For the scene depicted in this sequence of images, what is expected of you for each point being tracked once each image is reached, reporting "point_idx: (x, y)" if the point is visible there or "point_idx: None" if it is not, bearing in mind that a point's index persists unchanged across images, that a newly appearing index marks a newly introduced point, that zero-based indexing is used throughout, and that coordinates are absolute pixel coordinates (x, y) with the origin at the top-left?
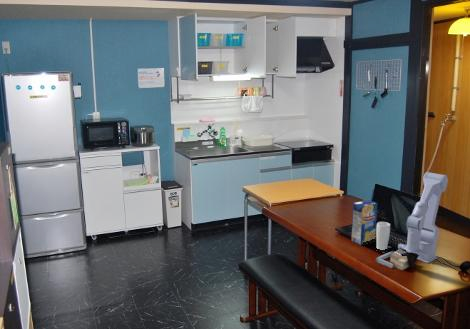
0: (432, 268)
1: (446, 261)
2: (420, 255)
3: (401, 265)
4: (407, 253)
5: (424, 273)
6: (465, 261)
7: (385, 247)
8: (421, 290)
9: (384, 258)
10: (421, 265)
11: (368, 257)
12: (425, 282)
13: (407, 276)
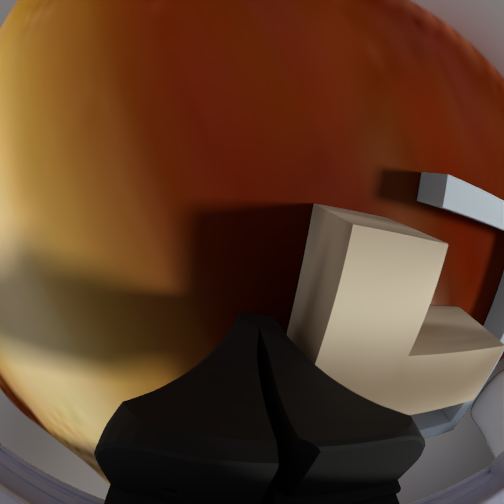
0: None
1: None
2: (40, 473)
3: (352, 217)
4: (364, 467)
5: (98, 300)
6: None
7: (497, 412)
8: (35, 5)
9: (494, 310)
10: None
11: None
12: (25, 127)
13: (190, 87)
